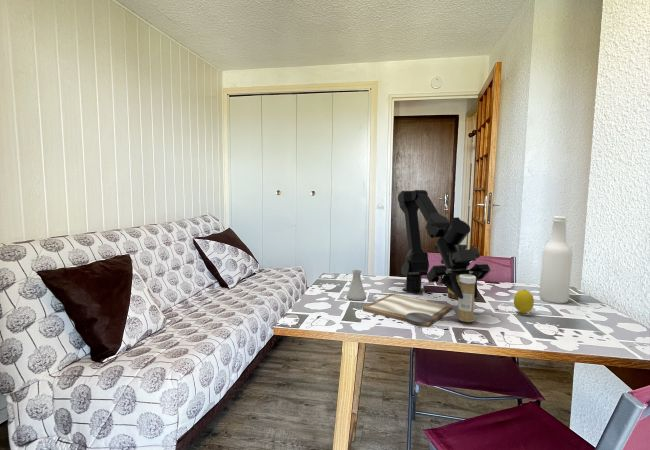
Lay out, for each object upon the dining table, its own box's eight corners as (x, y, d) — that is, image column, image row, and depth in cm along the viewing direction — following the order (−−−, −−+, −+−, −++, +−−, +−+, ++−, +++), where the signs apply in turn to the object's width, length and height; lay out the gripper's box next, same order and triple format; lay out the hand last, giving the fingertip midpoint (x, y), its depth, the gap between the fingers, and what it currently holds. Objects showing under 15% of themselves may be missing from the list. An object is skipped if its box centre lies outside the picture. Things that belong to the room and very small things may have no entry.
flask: (366, 295, 132) (366, 268, 131) (366, 301, 125) (367, 273, 124) (346, 294, 132) (347, 268, 131) (345, 300, 125) (346, 272, 124)
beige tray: (391, 296, 131) (392, 292, 131) (452, 309, 117) (452, 305, 117) (361, 311, 114) (361, 307, 114) (426, 328, 101) (427, 324, 101)
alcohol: (568, 299, 129) (575, 216, 125) (567, 305, 121) (575, 218, 118) (540, 294, 134) (546, 215, 131) (538, 300, 127) (544, 216, 123)
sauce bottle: (446, 298, 128) (449, 244, 126) (447, 293, 134) (450, 241, 132) (466, 300, 126) (469, 245, 124) (466, 296, 132) (469, 242, 130)
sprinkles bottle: (476, 319, 106) (478, 275, 104) (469, 323, 103) (471, 278, 101) (461, 315, 109) (463, 272, 108) (454, 319, 106) (456, 275, 104)
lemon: (530, 311, 115) (532, 287, 114) (534, 317, 110) (536, 292, 109) (511, 309, 117) (513, 286, 116) (514, 315, 112) (516, 290, 111)
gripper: (433, 239, 105) (452, 286, 96) (488, 237, 109) (512, 282, 100) (419, 259, 114) (435, 304, 104) (471, 257, 118) (491, 300, 108)
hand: (469, 297), depth 104 cm, fingers closed on sprinkles bottle, 4 cm apart
